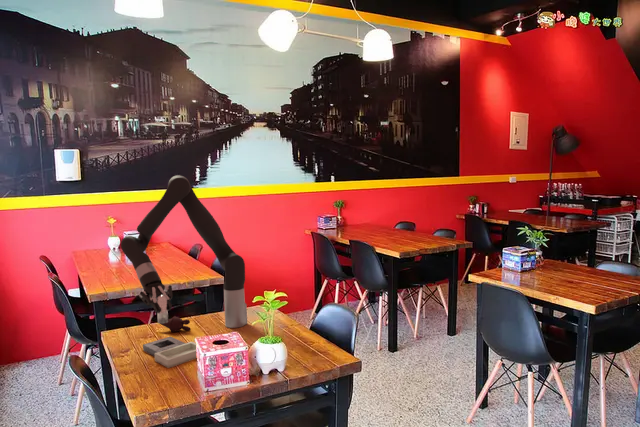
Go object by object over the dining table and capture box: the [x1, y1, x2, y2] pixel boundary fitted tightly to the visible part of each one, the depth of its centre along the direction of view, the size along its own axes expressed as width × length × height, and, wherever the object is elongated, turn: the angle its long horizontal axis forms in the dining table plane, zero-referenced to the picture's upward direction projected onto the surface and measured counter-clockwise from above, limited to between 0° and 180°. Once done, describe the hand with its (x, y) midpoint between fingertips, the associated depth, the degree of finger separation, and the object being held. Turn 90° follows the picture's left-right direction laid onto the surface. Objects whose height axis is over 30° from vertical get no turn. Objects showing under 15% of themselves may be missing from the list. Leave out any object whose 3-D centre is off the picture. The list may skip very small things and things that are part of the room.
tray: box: [154, 341, 197, 369], centre depth 182 cm, size 16×10×3 cm, turn 136°
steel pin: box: [156, 295, 169, 325], centre depth 189 cm, size 4×4×11 cm
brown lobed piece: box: [160, 315, 191, 333], centre depth 212 cm, size 7×7×15 cm
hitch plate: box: [142, 336, 187, 358], centre depth 190 cm, size 12×12×2 cm
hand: (164, 310), depth 187 cm, fingers closed on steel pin, 4 cm apart
